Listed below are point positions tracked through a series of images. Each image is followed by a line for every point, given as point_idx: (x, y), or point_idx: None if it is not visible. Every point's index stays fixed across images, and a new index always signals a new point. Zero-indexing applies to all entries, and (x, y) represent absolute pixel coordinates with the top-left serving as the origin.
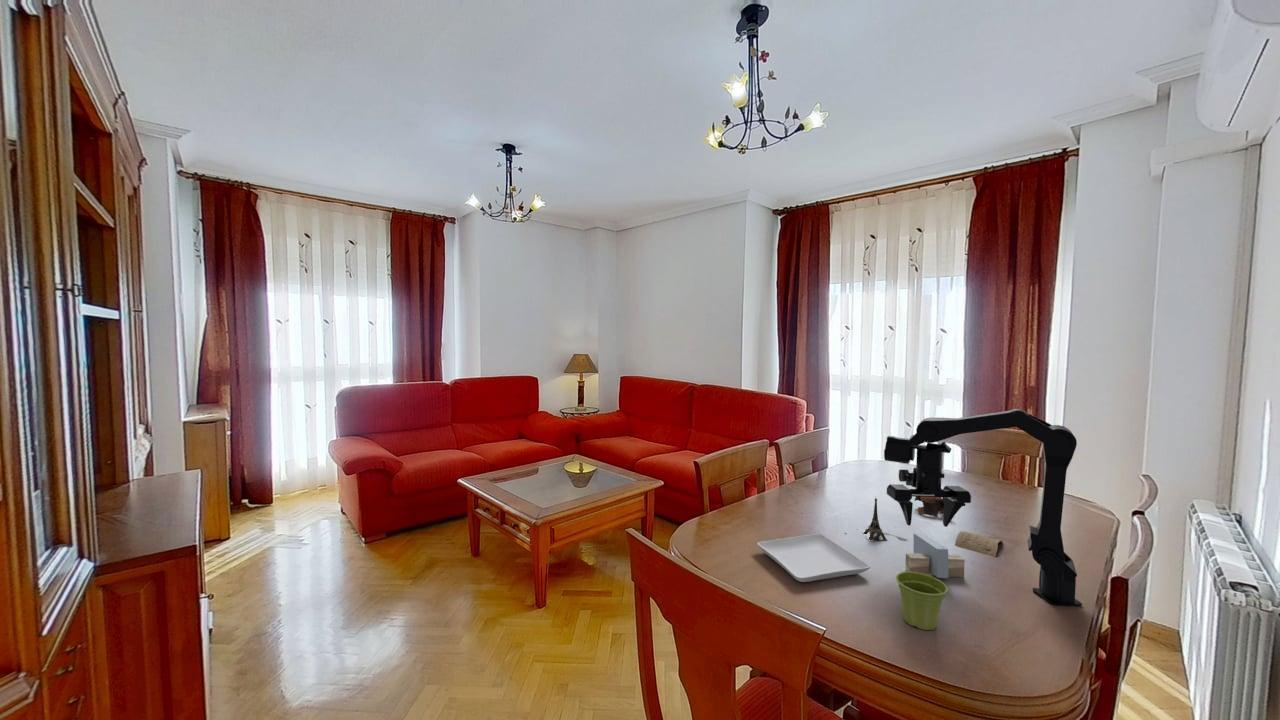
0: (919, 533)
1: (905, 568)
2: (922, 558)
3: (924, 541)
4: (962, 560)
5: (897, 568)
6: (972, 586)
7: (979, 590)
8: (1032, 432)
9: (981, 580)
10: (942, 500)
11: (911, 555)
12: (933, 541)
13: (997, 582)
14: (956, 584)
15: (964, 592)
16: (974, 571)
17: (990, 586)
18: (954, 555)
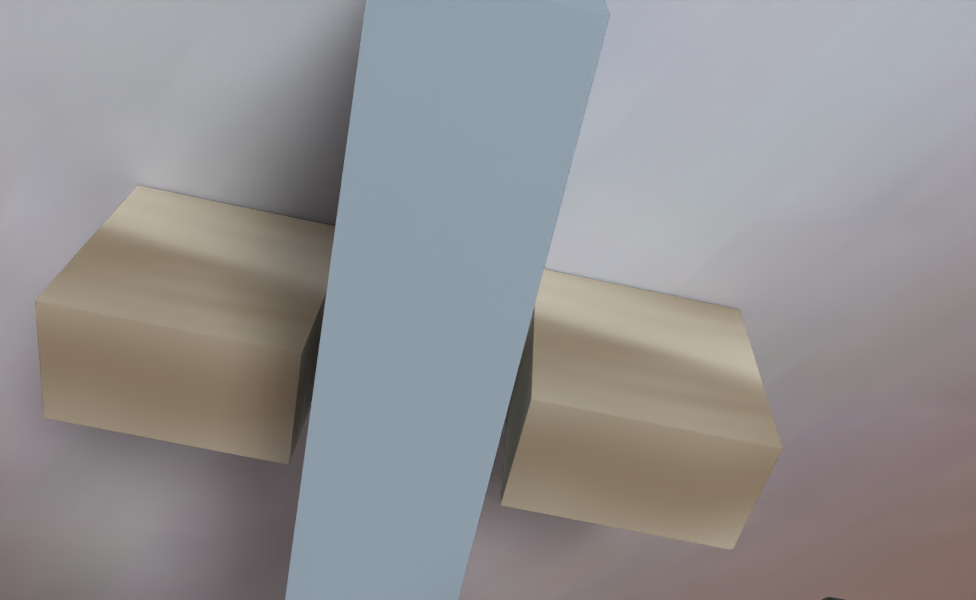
0: (495, 21)
1: (127, 199)
2: (203, 443)
3: (315, 396)
4: (702, 537)
5: (61, 129)
6: (622, 530)
7: (623, 580)
8: None
9: (818, 470)
10: None
11: (84, 371)
12: (446, 466)
13: (935, 516)
14: (501, 487)
15: (466, 582)
16: (949, 322)
17: (789, 553)
18: (703, 456)
